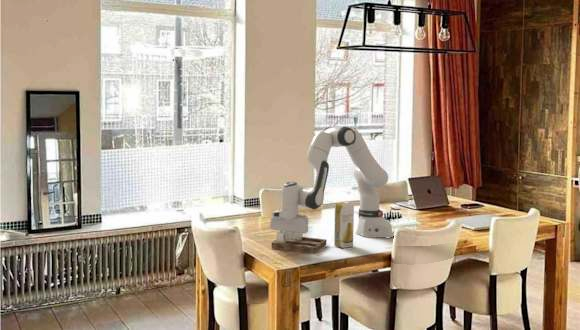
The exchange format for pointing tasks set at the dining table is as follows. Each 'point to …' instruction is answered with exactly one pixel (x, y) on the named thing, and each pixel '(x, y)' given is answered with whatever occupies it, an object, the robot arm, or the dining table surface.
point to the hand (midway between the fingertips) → (288, 239)
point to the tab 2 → (297, 236)
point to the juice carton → (344, 224)
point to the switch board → (301, 245)
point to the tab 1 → (280, 237)
